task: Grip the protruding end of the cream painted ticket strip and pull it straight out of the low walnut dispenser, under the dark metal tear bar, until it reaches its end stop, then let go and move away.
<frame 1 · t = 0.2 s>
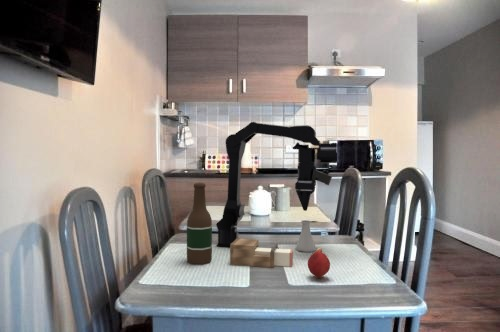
hand: (305, 208, 122), 14 cm above the table, tool pointing down, fingers open, 9 cm apart
ticket strip: (268, 256, 108), point 2 cm above the table, slide at 3.0 cm
beer bottle: (199, 261, 110), on the table
dispenser: (255, 262, 109), on the table
flask: (305, 250, 124), on the table
onion: (318, 278, 95), on the table
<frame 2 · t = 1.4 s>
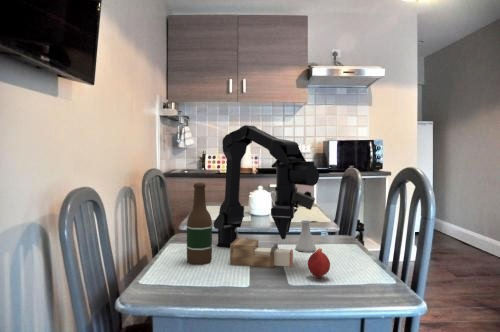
hand: (285, 235, 107), 9 cm above the table, tool pointing down, fingers open, 9 cm apart
nothing on the table moved.
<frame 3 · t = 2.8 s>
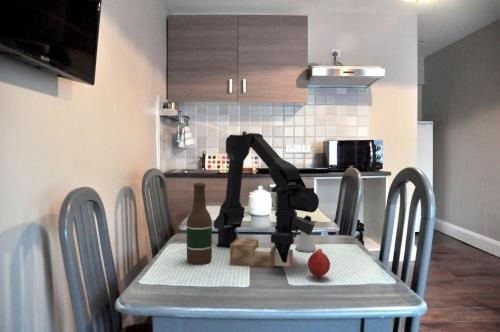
hand: (285, 260, 107), 1 cm above the table, tool pointing down, fingers closed on ticket strip, 4 cm apart
ticket strip: (268, 256, 108), point 2 cm above the table, slide at 3.0 cm, touching gripper
everything else where it was.
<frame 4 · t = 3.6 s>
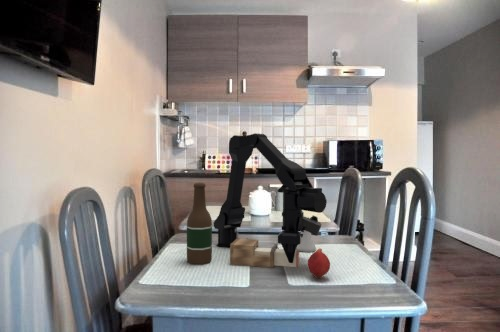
hand: (291, 260, 107), 1 cm above the table, tool pointing down, fingers closed on ticket strip, 4 cm apart
ticket strip: (275, 256, 108), point 2 cm above the table, slide at 4.9 cm, touching gripper
everything else where it was.
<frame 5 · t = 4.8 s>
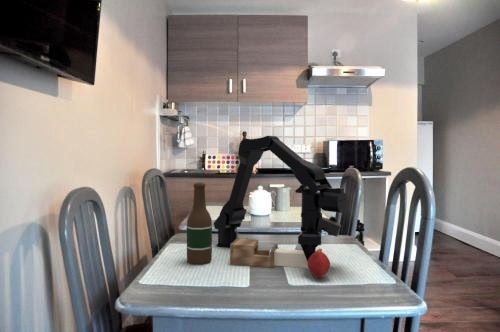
hand: (310, 261, 106), 1 cm above the table, tool pointing down, fingers closed on ticket strip, 4 cm apart
ticket strip: (293, 258, 107), point 2 cm above the table, slide at 10.4 cm, touching gripper
everything else where it was.
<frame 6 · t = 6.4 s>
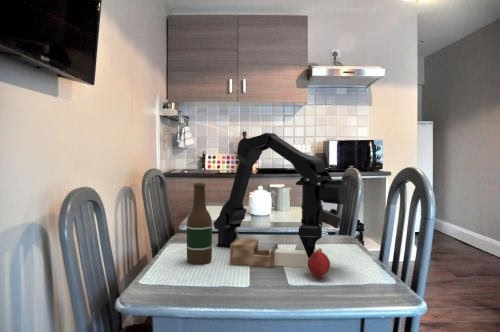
hand: (311, 254, 106), 4 cm above the table, tool pointing down, fingers open, 9 cm apart
ticket strip: (293, 258, 107), point 2 cm above the table, slide at 10.5 cm
everything else where it was.
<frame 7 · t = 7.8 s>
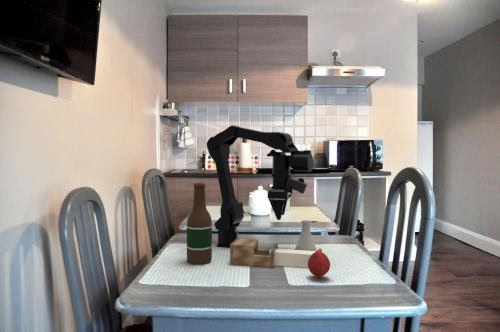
hand: (280, 217, 119), 12 cm above the table, tool pointing down, fingers open, 9 cm apart
nothing on the table moved.
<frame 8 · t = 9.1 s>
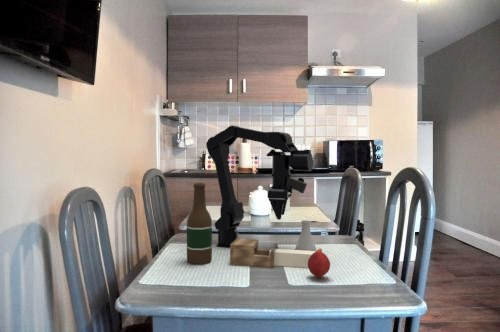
hand: (280, 217, 119), 12 cm above the table, tool pointing down, fingers open, 9 cm apart
nothing on the table moved.
at the end: ticket strip slide at 10.5 cm; the gripper is holding nothing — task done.
